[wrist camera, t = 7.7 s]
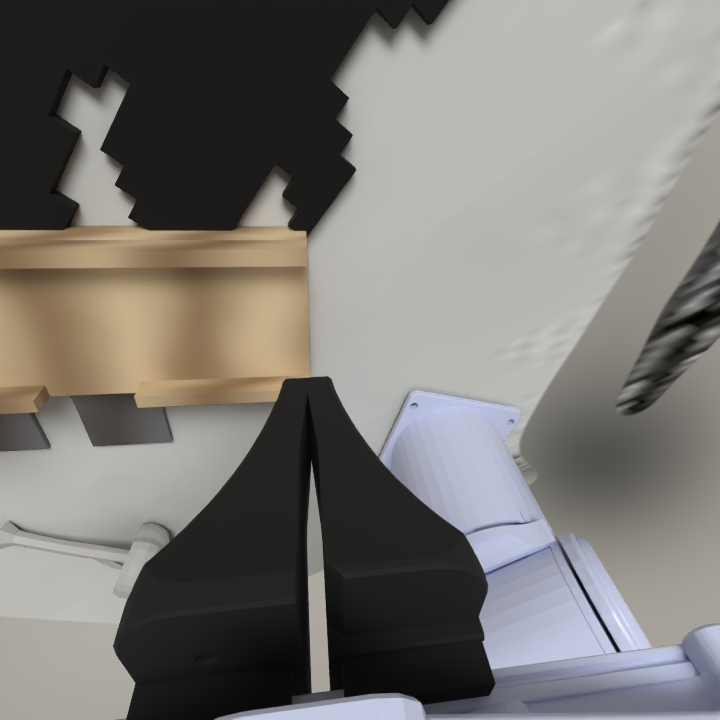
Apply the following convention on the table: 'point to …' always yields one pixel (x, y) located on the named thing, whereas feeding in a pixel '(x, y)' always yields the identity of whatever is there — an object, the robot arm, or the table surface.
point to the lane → (146, 325)
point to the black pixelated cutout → (183, 103)
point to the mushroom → (98, 551)
